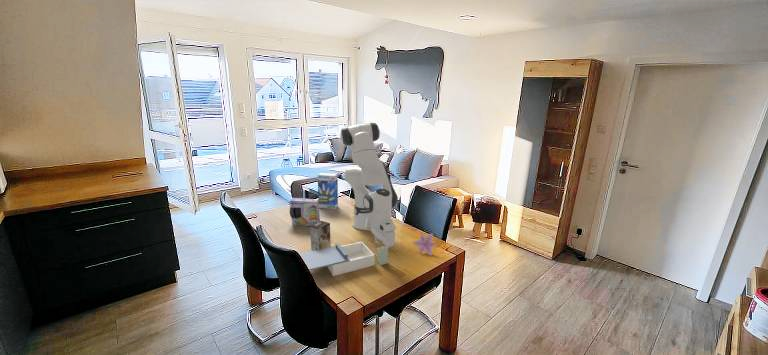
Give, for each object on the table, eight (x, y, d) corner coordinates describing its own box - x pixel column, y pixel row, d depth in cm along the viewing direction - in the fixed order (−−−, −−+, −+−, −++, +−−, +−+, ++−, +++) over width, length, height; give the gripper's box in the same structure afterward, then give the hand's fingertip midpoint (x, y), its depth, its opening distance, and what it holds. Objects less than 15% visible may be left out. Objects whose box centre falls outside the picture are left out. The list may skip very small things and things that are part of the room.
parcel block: (383, 259, 166) (384, 245, 163) (387, 263, 162) (387, 249, 160) (377, 261, 164) (377, 247, 162) (380, 265, 160) (380, 251, 158)
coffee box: (322, 246, 178) (321, 220, 174) (331, 249, 175) (330, 222, 171) (310, 252, 171) (309, 225, 166) (319, 256, 168) (318, 228, 163)
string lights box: (318, 208, 234) (317, 174, 227) (321, 204, 242) (320, 172, 235) (335, 209, 232) (334, 175, 225) (338, 205, 240) (337, 173, 233)
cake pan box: (290, 224, 205) (288, 199, 200) (293, 221, 210) (291, 196, 205) (317, 227, 202) (316, 201, 197) (320, 224, 206) (319, 199, 202)
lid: (338, 246, 166) (338, 241, 165) (349, 260, 152) (349, 255, 151) (296, 255, 156) (296, 250, 155) (304, 271, 142) (304, 266, 141)
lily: (409, 250, 177) (411, 241, 171) (421, 237, 184) (423, 227, 177) (427, 263, 172) (429, 253, 165) (438, 248, 179) (441, 239, 172)
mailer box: (361, 251, 173) (361, 241, 172) (374, 265, 160) (374, 254, 158) (323, 260, 164) (322, 250, 162) (333, 276, 150) (332, 265, 148)
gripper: (367, 215, 164) (367, 239, 167) (385, 230, 146) (385, 257, 150) (378, 213, 167) (378, 237, 170) (397, 228, 149) (396, 254, 153)
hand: (381, 246), depth 160 cm, fingers open, 8 cm apart
